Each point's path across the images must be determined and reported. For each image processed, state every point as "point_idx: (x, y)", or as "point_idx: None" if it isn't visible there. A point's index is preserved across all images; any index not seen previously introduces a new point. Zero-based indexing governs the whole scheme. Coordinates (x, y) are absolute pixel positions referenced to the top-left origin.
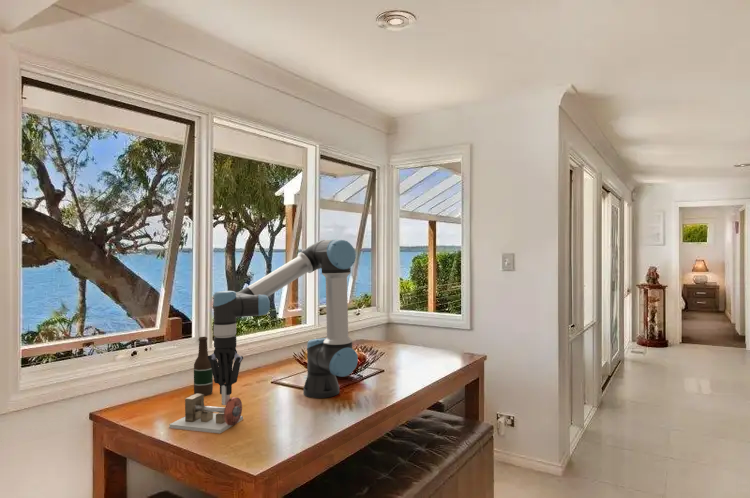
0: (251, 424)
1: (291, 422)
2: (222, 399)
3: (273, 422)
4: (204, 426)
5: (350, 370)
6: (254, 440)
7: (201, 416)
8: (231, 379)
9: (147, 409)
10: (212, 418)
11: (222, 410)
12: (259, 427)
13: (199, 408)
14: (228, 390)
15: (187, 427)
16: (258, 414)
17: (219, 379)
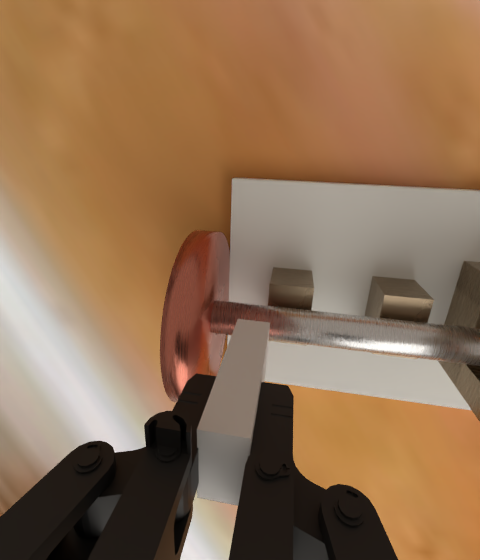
0: (158, 314)
1: (24, 353)
2: (258, 343)
3: (86, 346)
4: (352, 210)
5: None
6: (26, 131)
7: (420, 291)
8: (58, 507)
9: None
10: None
11: (272, 310)
12: (104, 287)
13: (465, 329)
14: (187, 403)
15: (464, 190)
16: None
17: (280, 537)
